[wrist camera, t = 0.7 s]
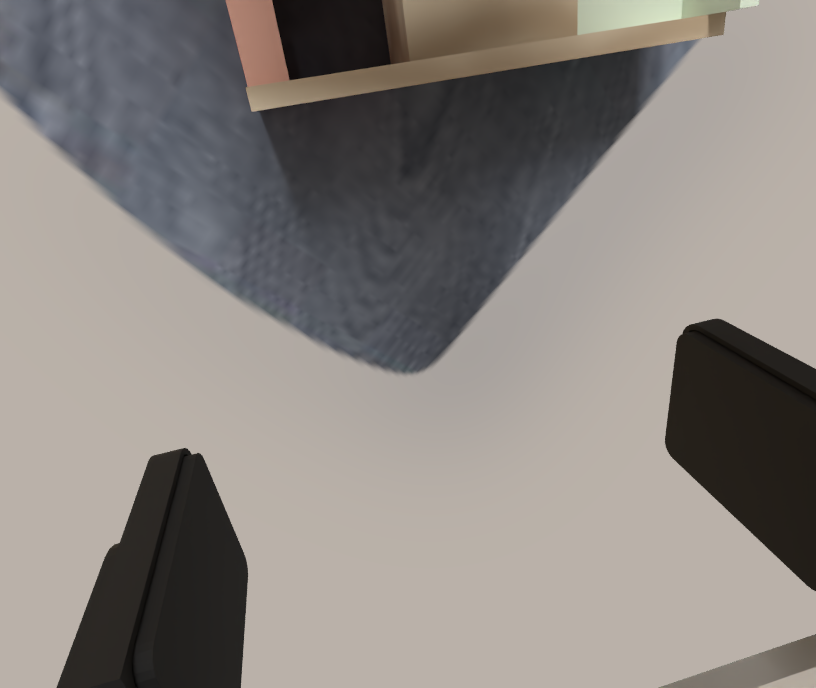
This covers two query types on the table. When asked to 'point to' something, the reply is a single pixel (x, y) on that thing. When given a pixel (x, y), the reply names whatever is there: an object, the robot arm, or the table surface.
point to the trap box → (471, 40)
